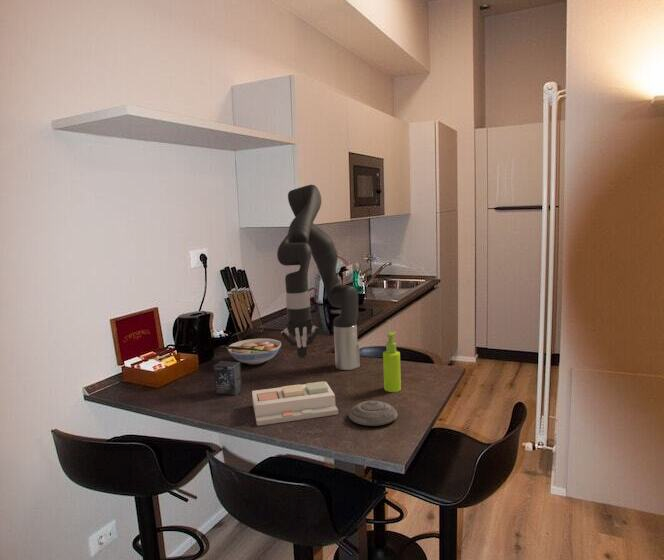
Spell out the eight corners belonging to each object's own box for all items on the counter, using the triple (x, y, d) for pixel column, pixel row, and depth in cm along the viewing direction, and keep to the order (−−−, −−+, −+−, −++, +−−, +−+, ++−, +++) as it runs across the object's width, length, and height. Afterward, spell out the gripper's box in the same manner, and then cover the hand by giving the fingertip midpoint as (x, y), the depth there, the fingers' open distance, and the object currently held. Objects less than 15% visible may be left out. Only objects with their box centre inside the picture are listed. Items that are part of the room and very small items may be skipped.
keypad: (326, 395, 172) (326, 381, 171) (338, 414, 156) (337, 399, 155) (253, 405, 166) (252, 390, 166) (257, 425, 150) (255, 410, 150)
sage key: (324, 389, 167) (323, 381, 167) (327, 396, 162) (327, 387, 161) (306, 392, 166) (305, 383, 166) (309, 398, 160) (309, 389, 160)
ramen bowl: (294, 356, 218) (293, 338, 217) (266, 373, 198) (265, 353, 196) (246, 352, 228) (244, 335, 227) (215, 367, 208) (213, 348, 207)
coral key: (276, 400, 164) (276, 391, 164) (278, 407, 158) (278, 398, 158) (258, 402, 163) (257, 394, 162) (259, 410, 157) (259, 400, 157)
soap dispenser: (403, 385, 178) (401, 330, 175) (399, 392, 171) (397, 336, 168) (386, 384, 180) (385, 330, 177) (382, 391, 173) (380, 335, 170)
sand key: (300, 392, 166) (299, 384, 165) (303, 399, 160) (303, 390, 160) (282, 395, 164) (281, 386, 164) (284, 402, 159) (284, 392, 158)
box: (215, 394, 178) (213, 365, 177) (223, 388, 183) (221, 360, 182) (235, 395, 176) (232, 366, 174) (242, 389, 181) (240, 361, 180)
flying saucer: (372, 405, 163) (371, 388, 162) (408, 418, 151) (407, 401, 150) (338, 419, 153) (337, 402, 152) (373, 434, 142) (372, 416, 141)
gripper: (316, 301, 164) (320, 351, 167) (276, 305, 161) (280, 356, 164) (320, 305, 157) (324, 358, 159) (278, 310, 154) (283, 363, 157)
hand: (302, 357), depth 162 cm, fingers closed
